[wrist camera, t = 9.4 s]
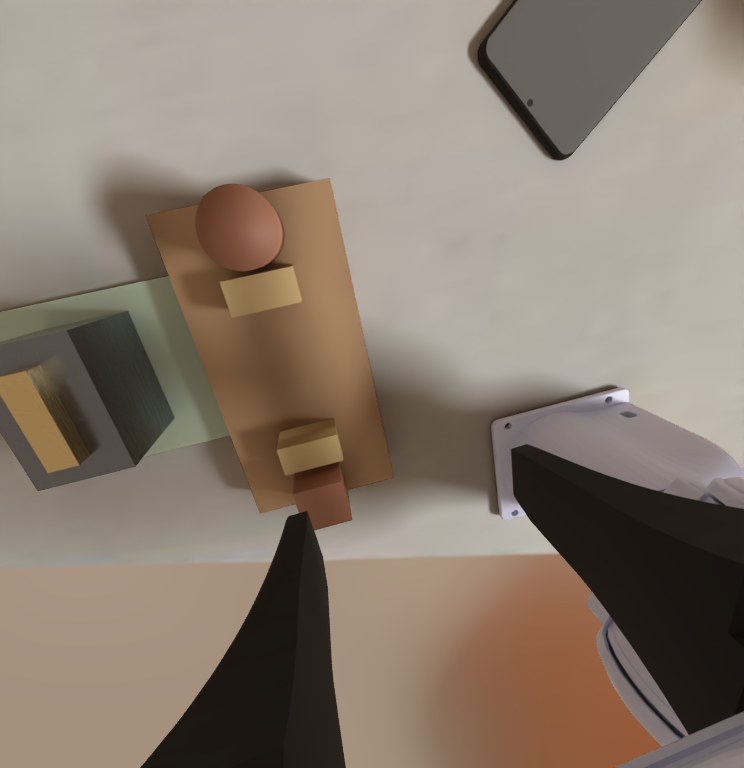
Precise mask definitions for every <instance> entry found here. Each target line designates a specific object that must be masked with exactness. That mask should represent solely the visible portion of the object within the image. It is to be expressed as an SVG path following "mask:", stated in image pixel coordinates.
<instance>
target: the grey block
mask: <svg viewBox="0 0 744 768" xmlns="http://www.w3.org/2000/svg"><path fill="white" fill-rule="evenodd" d="M174 418H175V417H174V415H173V412H172V410H171V408H170V406H169V403H168V401H167V399H166V396H165V394H164V392H163V390H162V387H161V385H160V383H159V380H158V378H157V376H156V374H155V371H154V369H153V367H152V364H151V362H150V360H149V358H148V355H147V353H146V351H145V348H144V346H143V344H142V342H141V339H140V337H139V335H138V332H137V330H136V328H135V326H134V323H133V321H132V319H131V316H130V314H129V312H128V311H124V312H119V313H115V314H110V315H106V316H101V317H97V318H92V319H88V320H83V321H79V322H74V323H69V324H65V325H60V326H56V327H51V328H47V329H43V330H39V331H36V332H32V333H29V334H25V335H22V336H19V337H15V338H12V339H8V340H5V341H1V342H0V432H1V434H2V436H3V437H4V439H5V440H6V442H7V443H8V445H9V447H10V448H11V450H12V451H13V453H14V454H15V456H16V458H17V459H18V461H19V462H20V464H21V465H22V467H23V469H24V470H25V472H26V473H27V475H28V476H29V478H30V480H31V481H32V483H33V484H34V486H35V487H36V489H37V491H40V490H44V489H48V488H52V487H56V486H60V485H64V484H68V483H72V482H76V481H80V480H84V479H88V478H92V477H96V476H100V475H104V474H108V473H112V472H116V471H120V470H123V469H127V468H131V467H135V466H136V465H137V464H138V463H139V461H140V460H141V459H142V458H143V456H144V455H145V454H146V453H147V452H148V450H149V449H150V448H151V447H152V445H153V444H154V443H155V442H156V440H157V439H158V438H159V437H160V436H161V434H162V433H163V432H164V431H165V429H166V428H167V427H168V426H169V425H170V423H171V422H172V421H173V420H174Z"/></svg>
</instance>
